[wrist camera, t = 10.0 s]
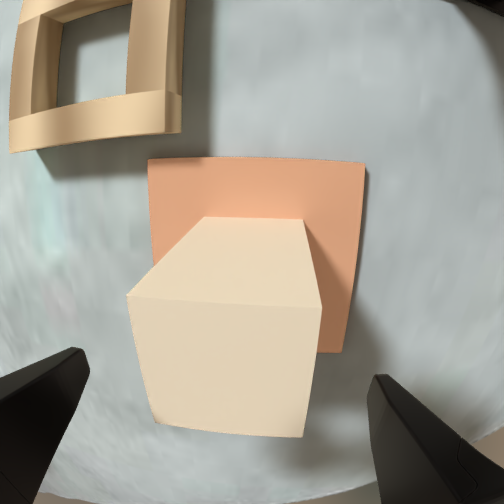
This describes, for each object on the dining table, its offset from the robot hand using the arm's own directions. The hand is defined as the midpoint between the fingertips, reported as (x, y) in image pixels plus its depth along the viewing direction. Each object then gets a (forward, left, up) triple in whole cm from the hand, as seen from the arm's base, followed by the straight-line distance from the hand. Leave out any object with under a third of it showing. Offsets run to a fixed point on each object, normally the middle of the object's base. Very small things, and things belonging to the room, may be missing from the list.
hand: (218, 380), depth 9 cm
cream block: (0, 0, -9) cm, 9 cm away
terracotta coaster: (0, 0, -10) cm, 10 cm away
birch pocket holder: (+9, -12, -10) cm, 18 cm away
